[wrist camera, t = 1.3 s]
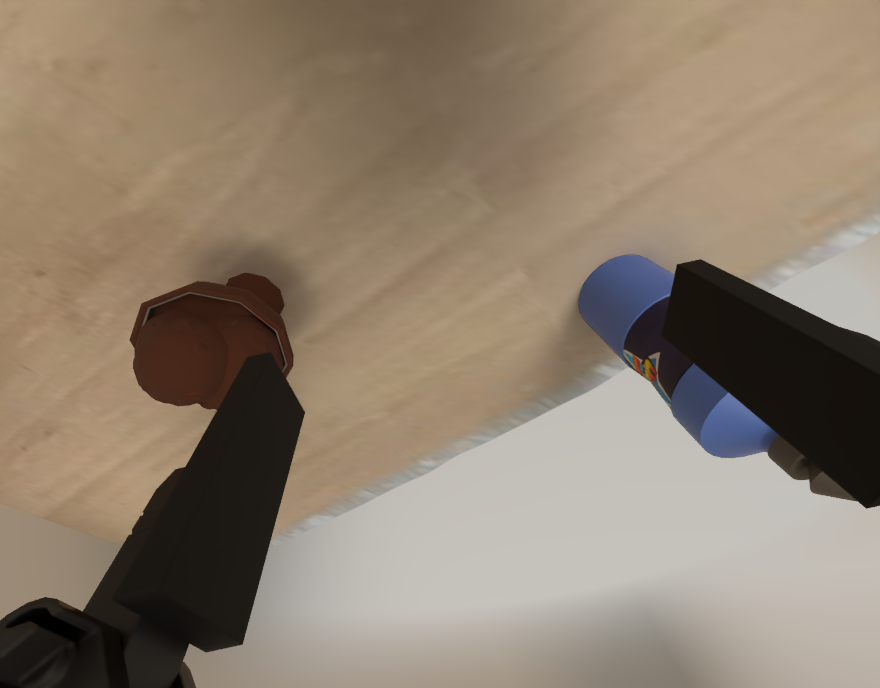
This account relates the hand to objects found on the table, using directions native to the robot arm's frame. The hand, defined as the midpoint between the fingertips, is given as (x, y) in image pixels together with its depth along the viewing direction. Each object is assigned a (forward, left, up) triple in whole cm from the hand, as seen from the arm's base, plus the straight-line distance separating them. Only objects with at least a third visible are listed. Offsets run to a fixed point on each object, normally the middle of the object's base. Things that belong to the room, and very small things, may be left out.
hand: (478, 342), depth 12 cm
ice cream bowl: (+7, -18, -24) cm, 31 cm away
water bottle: (+14, +20, -24) cm, 34 cm away
